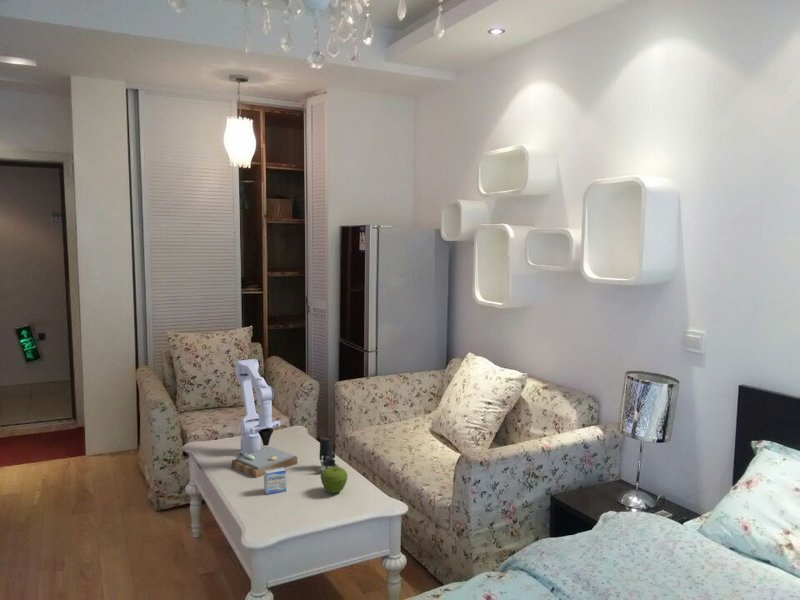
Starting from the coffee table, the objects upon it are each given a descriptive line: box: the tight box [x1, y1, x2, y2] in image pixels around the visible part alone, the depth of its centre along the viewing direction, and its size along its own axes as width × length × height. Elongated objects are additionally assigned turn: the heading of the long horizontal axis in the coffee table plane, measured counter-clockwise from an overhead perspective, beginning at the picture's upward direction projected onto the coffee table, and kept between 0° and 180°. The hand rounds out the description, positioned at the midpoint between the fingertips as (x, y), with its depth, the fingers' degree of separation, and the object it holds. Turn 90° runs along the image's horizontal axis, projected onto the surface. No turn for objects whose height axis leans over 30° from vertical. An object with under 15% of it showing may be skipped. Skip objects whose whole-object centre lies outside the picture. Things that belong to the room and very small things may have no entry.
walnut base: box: [231, 455, 298, 478], centre depth 269 cm, size 18×22×3 cm
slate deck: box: [235, 446, 295, 469], centre depth 269 cm, size 17×19×3 cm
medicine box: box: [263, 467, 287, 495], centre depth 241 cm, size 8×4×9 cm, turn 117°
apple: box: [320, 466, 349, 494], centre depth 240 cm, size 11×10×10 cm
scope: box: [319, 435, 340, 473], centre depth 264 cm, size 8×14×10 cm
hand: (265, 445), depth 267 cm, fingers closed
